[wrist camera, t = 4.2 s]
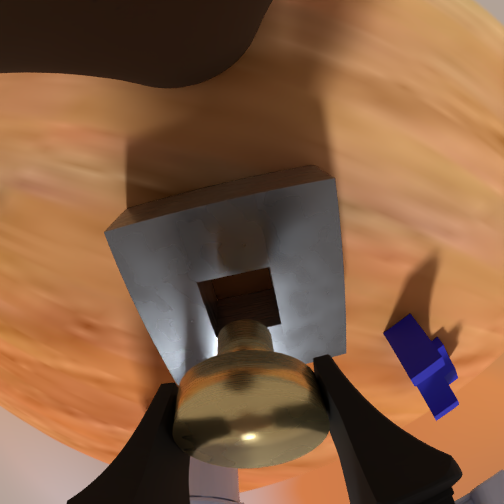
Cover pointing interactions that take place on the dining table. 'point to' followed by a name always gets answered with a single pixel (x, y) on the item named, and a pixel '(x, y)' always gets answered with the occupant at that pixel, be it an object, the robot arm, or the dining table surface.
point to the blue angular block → (424, 364)
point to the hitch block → (237, 265)
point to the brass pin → (249, 403)
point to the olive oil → (128, 38)
